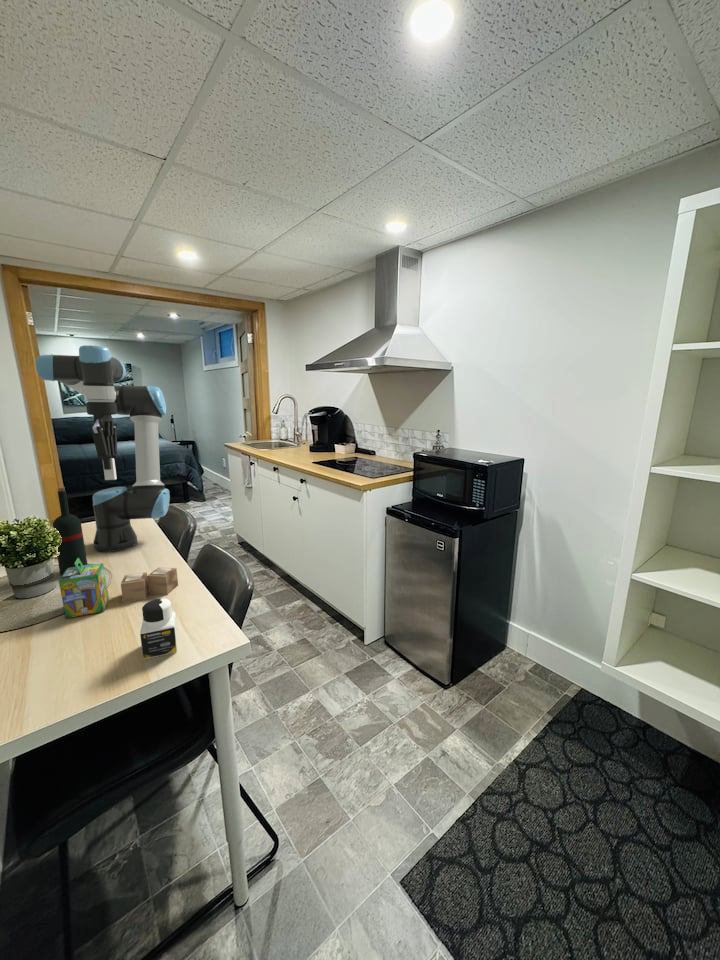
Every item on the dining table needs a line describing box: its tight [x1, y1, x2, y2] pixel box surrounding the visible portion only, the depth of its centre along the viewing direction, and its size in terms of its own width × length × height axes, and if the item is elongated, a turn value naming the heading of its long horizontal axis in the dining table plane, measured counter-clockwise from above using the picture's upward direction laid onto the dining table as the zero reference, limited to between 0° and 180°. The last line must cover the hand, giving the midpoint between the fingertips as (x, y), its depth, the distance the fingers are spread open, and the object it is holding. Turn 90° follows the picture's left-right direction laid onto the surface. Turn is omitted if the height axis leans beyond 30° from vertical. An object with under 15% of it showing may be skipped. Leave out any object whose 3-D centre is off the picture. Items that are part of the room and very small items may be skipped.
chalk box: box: [58, 558, 109, 620], centre depth 110 cm, size 9×9×15 cm
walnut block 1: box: [120, 572, 149, 603], centre depth 118 cm, size 6×6×6 cm
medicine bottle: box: [139, 598, 179, 661], centre depth 93 cm, size 7×7×12 cm
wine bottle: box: [51, 486, 89, 577], centre depth 131 cm, size 8×10×30 cm
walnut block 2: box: [147, 567, 179, 596], centre depth 122 cm, size 6×6×6 cm
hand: (110, 479), depth 119 cm, fingers closed
